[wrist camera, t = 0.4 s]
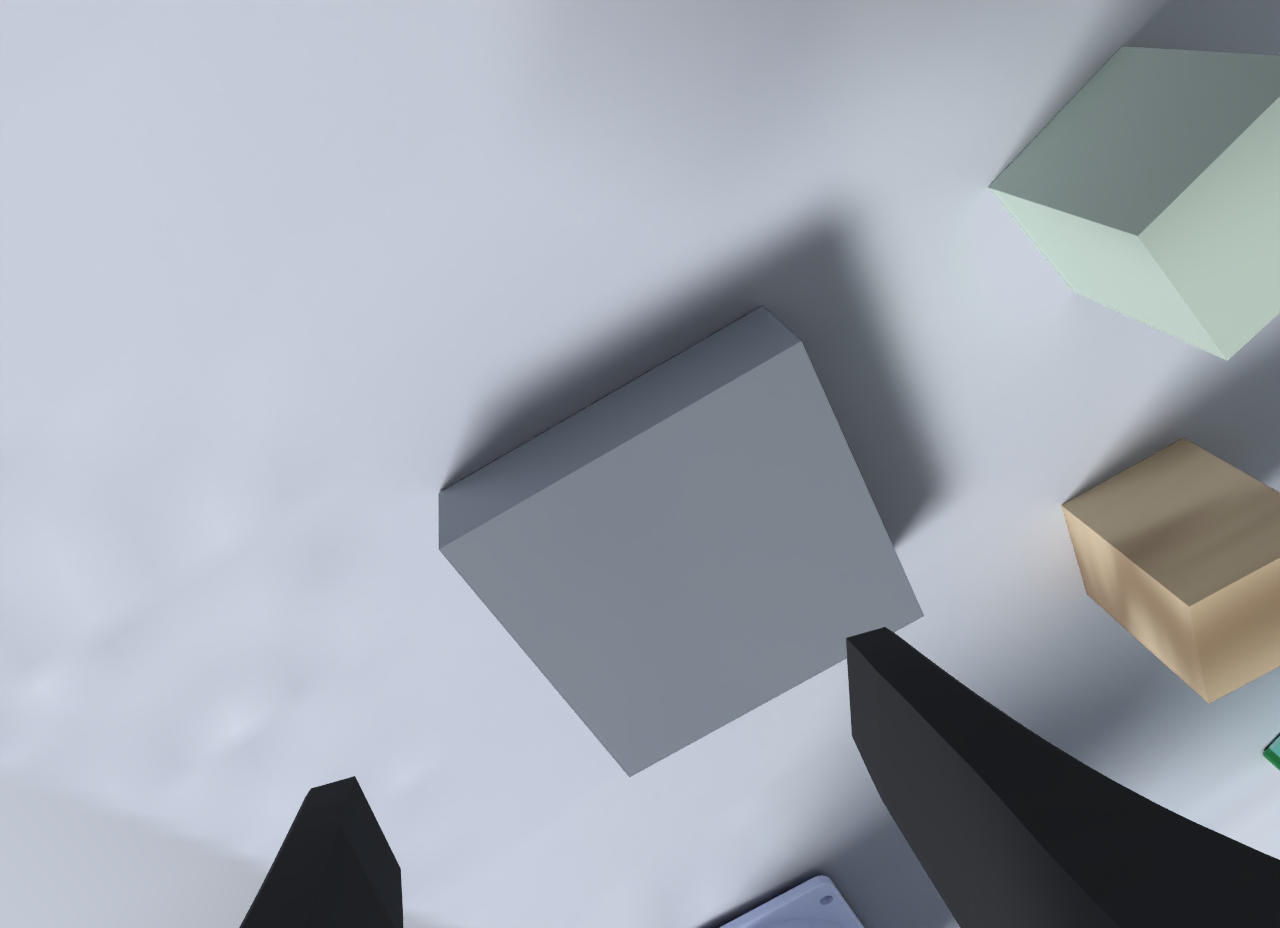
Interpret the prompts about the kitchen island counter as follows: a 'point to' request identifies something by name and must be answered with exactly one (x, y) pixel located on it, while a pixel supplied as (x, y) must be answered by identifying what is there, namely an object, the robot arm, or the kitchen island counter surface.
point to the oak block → (1186, 564)
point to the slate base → (682, 543)
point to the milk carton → (1273, 753)
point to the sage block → (1163, 192)
